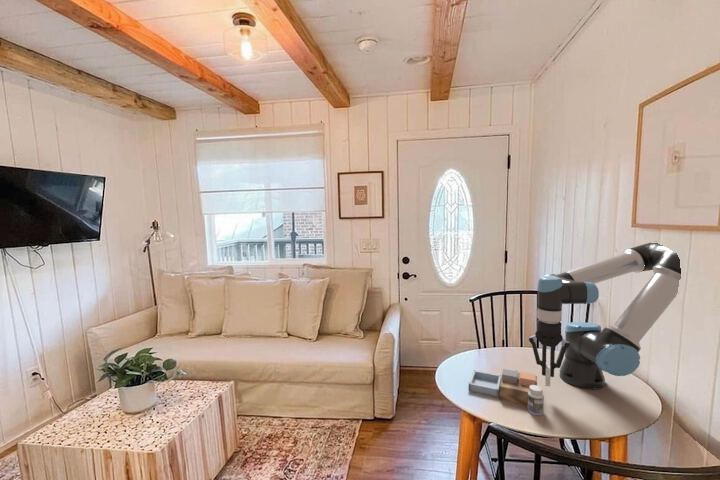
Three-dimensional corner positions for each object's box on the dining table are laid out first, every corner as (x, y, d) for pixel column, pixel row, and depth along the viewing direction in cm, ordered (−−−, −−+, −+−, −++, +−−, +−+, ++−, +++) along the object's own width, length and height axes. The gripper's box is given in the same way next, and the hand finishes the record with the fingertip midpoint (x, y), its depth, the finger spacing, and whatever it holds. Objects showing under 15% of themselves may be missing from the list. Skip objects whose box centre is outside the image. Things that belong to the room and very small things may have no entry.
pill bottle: (525, 407, 116) (525, 384, 115) (539, 407, 116) (540, 384, 115) (531, 415, 111) (531, 391, 111) (545, 415, 111) (546, 391, 110)
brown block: (536, 388, 128) (536, 375, 128) (536, 407, 116) (537, 393, 115) (502, 381, 134) (502, 369, 133) (499, 399, 121) (499, 386, 121)
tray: (501, 382, 133) (501, 375, 133) (498, 397, 122) (498, 389, 122) (473, 377, 138) (473, 370, 138) (468, 391, 127) (468, 383, 127)
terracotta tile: (535, 381, 124) (535, 374, 124) (535, 387, 120) (535, 380, 119) (520, 378, 126) (520, 371, 126) (520, 384, 122) (520, 377, 122)
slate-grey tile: (517, 377, 127) (517, 371, 127) (517, 383, 122) (517, 377, 122) (503, 375, 129) (503, 368, 129) (502, 380, 125) (502, 374, 124)
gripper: (569, 319, 118) (567, 383, 120) (528, 315, 124) (527, 376, 126) (571, 326, 112) (569, 393, 114) (528, 321, 118) (527, 385, 119)
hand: (547, 384), depth 120 cm, fingers closed
